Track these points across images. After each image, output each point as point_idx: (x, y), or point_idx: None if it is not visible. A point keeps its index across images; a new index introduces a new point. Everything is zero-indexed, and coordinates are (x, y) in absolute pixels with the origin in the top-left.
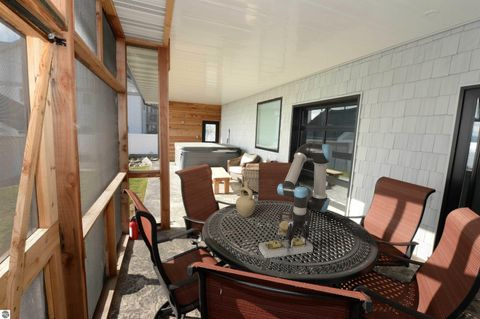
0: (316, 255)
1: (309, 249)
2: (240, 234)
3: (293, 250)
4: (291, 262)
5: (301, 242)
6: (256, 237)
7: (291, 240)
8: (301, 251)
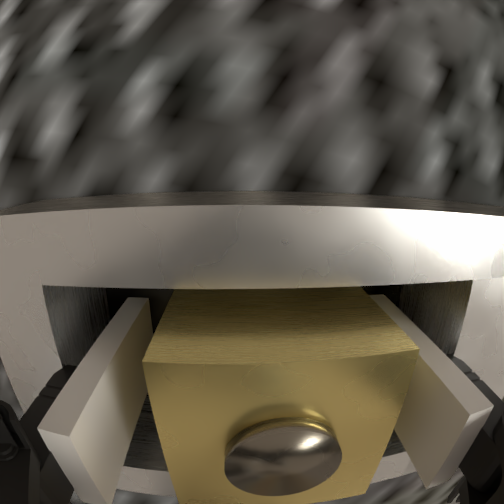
0: (44, 94)
1: (68, 202)
2: None
3: (444, 207)
4: (490, 54)
5: (204, 353)
6: None
7: (475, 417)
8: (254, 193)
